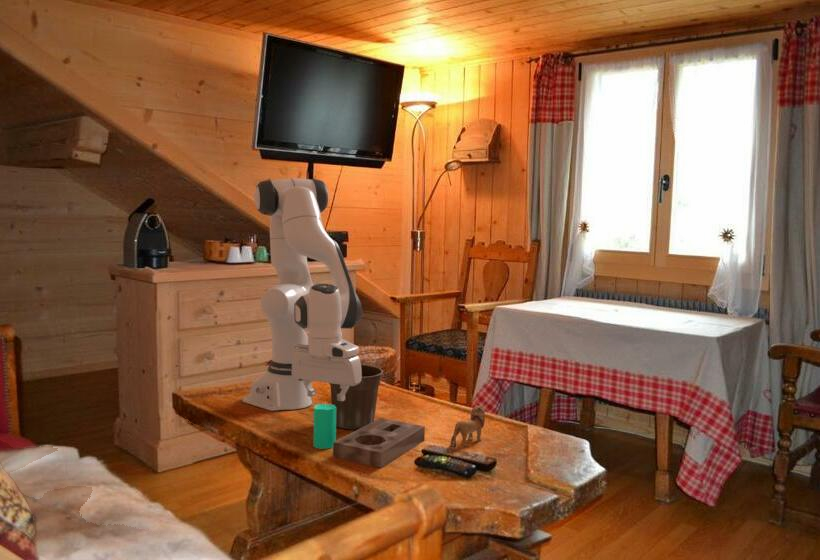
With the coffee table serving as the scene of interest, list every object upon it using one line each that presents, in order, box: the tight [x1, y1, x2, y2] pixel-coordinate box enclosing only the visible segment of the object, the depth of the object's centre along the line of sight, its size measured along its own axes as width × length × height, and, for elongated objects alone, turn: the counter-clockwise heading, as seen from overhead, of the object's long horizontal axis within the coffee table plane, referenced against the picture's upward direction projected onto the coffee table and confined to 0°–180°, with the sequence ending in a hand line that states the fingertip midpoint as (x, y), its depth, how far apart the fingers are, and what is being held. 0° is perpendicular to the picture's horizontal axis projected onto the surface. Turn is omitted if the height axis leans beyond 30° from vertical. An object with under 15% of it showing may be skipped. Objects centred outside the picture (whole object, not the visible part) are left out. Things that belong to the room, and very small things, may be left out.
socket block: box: [332, 417, 426, 469], centre depth 183 cm, size 14×24×4 cm, turn 153°
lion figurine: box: [450, 405, 486, 449], centre depth 190 cm, size 15×5×9 cm, turn 147°
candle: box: [312, 400, 337, 450], centre depth 184 cm, size 6×6×12 cm
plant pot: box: [328, 363, 384, 431], centre depth 202 cm, size 16×16×16 cm
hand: (326, 398), depth 183 cm, fingers open, 8 cm apart
